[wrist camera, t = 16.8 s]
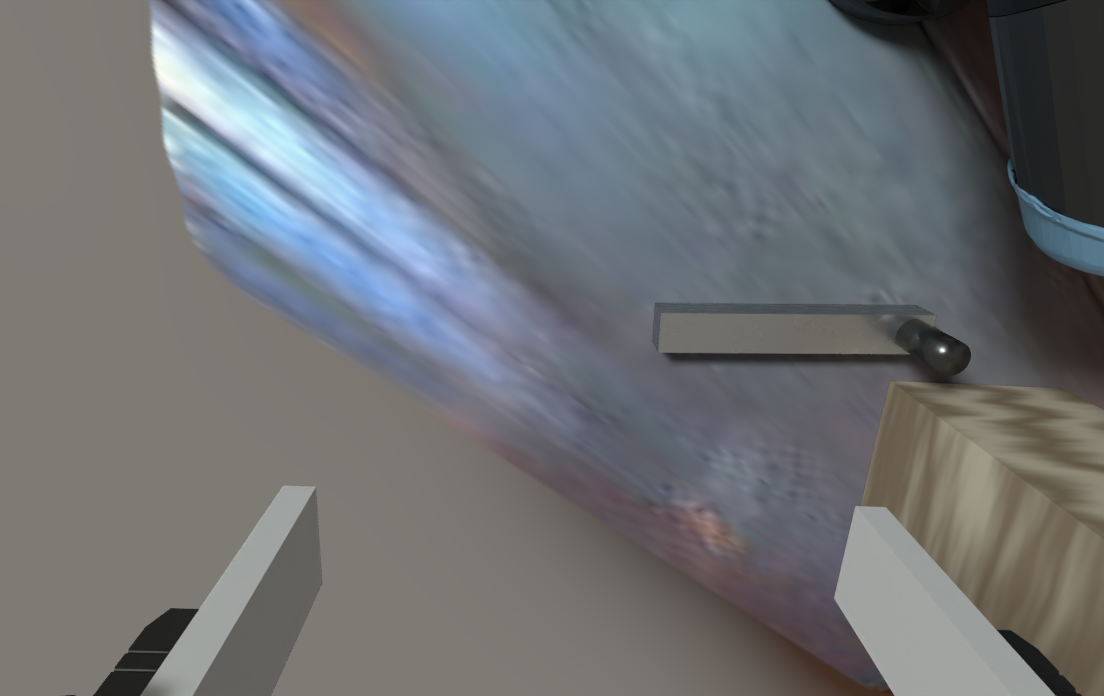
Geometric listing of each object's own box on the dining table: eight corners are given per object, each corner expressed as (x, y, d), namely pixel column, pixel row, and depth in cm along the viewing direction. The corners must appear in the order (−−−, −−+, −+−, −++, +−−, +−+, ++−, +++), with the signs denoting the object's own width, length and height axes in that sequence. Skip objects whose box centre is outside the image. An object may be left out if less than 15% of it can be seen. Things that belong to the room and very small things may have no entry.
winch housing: (849, 554, 58) (1147, 968, 30) (890, 380, 53) (1298, 684, 25) (1005, 559, 59) (1444, 970, 31) (1061, 388, 54) (1652, 693, 25)
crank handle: (651, 339, 52) (671, 378, 44) (654, 301, 51) (674, 335, 43) (907, 341, 52) (969, 379, 45) (914, 304, 51) (980, 337, 44)
